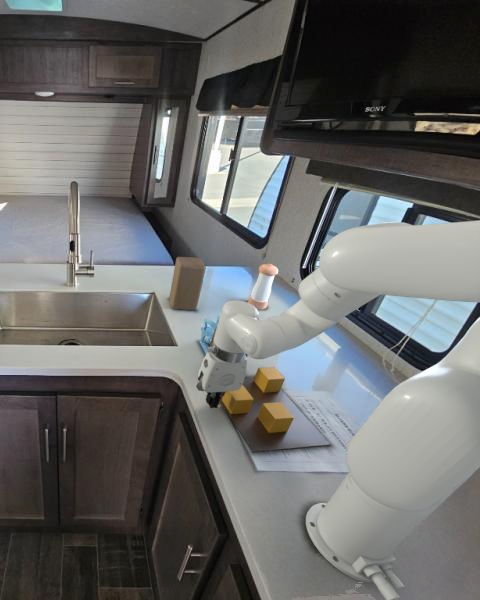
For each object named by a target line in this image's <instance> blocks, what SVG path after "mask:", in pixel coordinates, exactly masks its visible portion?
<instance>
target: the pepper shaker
mask: <svg viewBox="0 0 480 600" xmlns="http://www.w3.org/2000/svg"><path fill="white" fill-rule="evenodd" d="M278 274H279V268H278V267H277V266H275V265H273V264H272V263H263V264H261V265H259V267H258V277H257V280H256V282H255V284H254V286H253V288H252V291H251V294H250V295H249V296H248V301H247V303H250V304H251V305H253V306H254V307H255V308H256V309H257V310H260V311H261V310H266V309H267V306H268V303H269V297H270V295H271V292H272V285H273V281H274V278H275V276H277V275H278Z"/></svg>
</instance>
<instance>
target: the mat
mask: <svg viewBox="0 0 480 600" xmlns="http://www.w3.org/2000/svg"><path fill="white" fill-rule="evenodd" d="M254 378H255V376H245V378H244V381H243V384H242V386H244V387H245V389H246V390H247V391H248V393H249V394H250V395H251V396H252V398H253V399H254V400H253V403H252V405H251V408H250V410H249V413H239V414H231V413H230V412H229V410H228V409H227V407H226V406H225V404H224V403H223V401H222V398H223V397H221V399H220V402H219V403H220V404H221V406H222V407H223V409H224V410H225V412H226V413H227V415H228V416H229V418H230V419H231V421H232V422H233V424H234V426H235V428H237V430H238V432H239V433H240V435H241V437H242V438H243V439H244V441H245V443H246V444H247V446H248V447H249V449H250V450H251V452H252V453H259V452H260V453H261V452H263V453H264V452H272V451H284V450H293V449H295V450H296V449H304V448H315V447H327V446H331V445H332V444H331V443H330V442H329V441H328V440H327V439H326V437H325V436H324V435H323V434H322V433H321V432H320V430H318V429H317V428H316V426H315V425H314V424H313V423H312V422H311V421H310V420H309V419H308V418H307V416H306V415H305V414H304V413H303V412H302V411H301V409H300V408H299V407H297V405H296V404H295V403H294V402H293V401H292V400H291V398H289V396H288V395H287V394H286V393H285V392H284V391H283V390H282V388H281V389H280V391H279V392H266V393H263V391H262V390H261V389H260V388H259V386H258V385H257V384H256V383H255V382H254ZM276 402H281V403H282V404H283V405H284V406H285V407H286V409H287V410H288V411H289V412H290V413H291V414H292V416H293V417H294V419H293V421H292V423H291V425H290V427H289V429H288V431H285V432H274V433H269V432H268V431H267V429H266V428H265V427H264V425H263V424H262V423H261V421H260V420H259V419H258V414H259V412H260V409H261V407H262V405H263V403H276Z"/></svg>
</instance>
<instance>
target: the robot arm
mask: <svg viewBox="0 0 480 600" xmlns="http://www.w3.org/2000/svg"><path fill="white" fill-rule="evenodd" d="M318 266H319V267H317V268H316V269H315V270H313V271H312V272H311V273H310V274H308V275H307V276H306V277H305V278H303V279H302V281H300V282H299V285H298V295H299V298H300V299H299V300H297V302H295V303H294V304H293V305H292V306H290V307H288V308H287V309H286V310H285V311H283V312H281V313H280V314H276V315H273V316H270V317H266V318H262V319H259V314H260V313H259V309H256V308H255V307H254V306H253V305H251V304H250V303H248V301H243V300H236V299H235V300H233V299H232V300H229V301H226V303H224V304H223V306H222V307H221V311H220V314H219V321H218V325H217V329H216V332H215V336H214V340H213V342H212V346H210V345H209V346H206V347H207V351H208V352H207V354H206V353H205V356H204V358H203V360H202V362H201V365H200V367H199V370H198V372H197V373H198V374H197V381H198V382H197V384H196V385H195V386H196V389H197V391H199V392H205V393H206V396H205V402H206V404H207V405H208V406H209V408H210V409H218V407H219V404H220V403H221V402H220V399H221V397H223V396H224V395H225V393H226V392H227V391H236V390H239V389H240V388H241V387H242V384H243V381H244V378H245V377H246V373H247V369H248V368H247V367H248V366H247V365H248V356H249V357H250V358H251V359H254V360H265V359H269V358H271V357H273V356H277V355H279V354H280V353H284V352H287V351H290V350H293V349H295V348H298V347H300V346H303V345H304V344H306V343H308V342H310V341H311V340H313V339H315V338H316V337H317V336H320V335H321V334H323V333H325V332H326V331H327V330H329V329H331V328H332V327H333V326H334V325H336V324H337V323H339V322H340V321H342V319H343V318H345V317H347V316H348V315H350V314H351V313H353V312H355V311H356V310H358V309H360V308H361V307H363V306H364V305H366V304H368V303H369V302H371V301H372V300H374V299H376V298H377V297H379V296H380V295H381V296H390V297H391V296H392V297H400V298H401V297H403V298H414V299H425V300H434V301H435V300H436V301H447V302H448V301H449V302H458V303H459V302H460V303H480V220H470V221H469V220H467V221H457V222H455V221H454V222H444V223H432V224H431V223H430V224H415V225H413V224H410V223H407V222H402V221H384V222H378V223H377V222H376V223H373V224H366V225H361V226H355V227H351V228H349V229H345V230H343V231H341V232H339V233H337V234H336V235H334V236H333V237H332V238H331V239H329V240H328V241H327V242H326V244H325V245H324V247H323V248H322V250H321V252H320V254H319V258H318ZM245 354H247V355H248V356H247V357H246V355H245ZM345 463H346V464H345V465H346V468H347V470H348V473H347V474H346V476H345V477H344V479H343V480H342V481H341V483H340V484H339V486H338V487H337V488H336V490H335V492H333V494H332V495H331V497H330V499H329V500H328V501H327V502H320V503H319V502H318V503H315V504H313V505H312V506H311V507H310V508H309V509H308V510H307V513H306V516H305V526H306V530H307V531H306V532H307V534H308V536H309V538H310V540H311V541H312V543H313V545H314V547H316V549H317V550H318V552H319V553H320V554H321V555H322V556H323V558H324V559H326V560H327V562H329V564H331V565H332V566H333V567H335V569H337V570H338V571H340V572H341V573H343V574H344V575H346V576H348V577H350V578H352V579H354V580H356V581H359V582H361V583H366V584H375V586H376V587H377V590H378V591H379V592H380V593H381V595H382V597H383V598H384V599H385V600H401V597H400V595H399V594H398V593H397V592H396V591H402V590H404V589H405V588H406V586H405V585H404V584H403V583H402V580H400V578H399V577H398V576H397V575H396V574H395V573H394V572H393V565H392V564H394V562H396V561H397V559H396V558H395V556H394V555H393V554H392V552H393V551H394V550H395V549H396V548H397V547H398V546H399V545H401V543H403V541H404V540H405V539H406V538H407V537H408V536H409V535H410V534H411V533H413V531H414V530H415V529H416V528H418V527H419V526H420V524H422V523H423V522H424V521H425V520H426V519H427V518H429V516H431V515H432V513H433V512H435V511H436V510H437V509H438V508H439V507H440V506H441V505H442V504H443V503H444V502H445V500H447V499H448V498H449V497H450V496H452V495H453V494H454V492H455V491H456V490H458V489H459V488H460V487H461V486H462V485H463V484H465V483H466V482H467V481H468V480H469V479H470V478H471V477H472V476H473V475H474V473H476V472H477V470H479V468H480V316H479V317H478V318H477V319H476V320H475V321H474V322H473V323H472V325H471V326H470V327H469V329H468V330H467V331H466V333H465V334H464V335H463V337H462V338H461V339H460V340H459V341H458V342H457V343H456V344H455V346H454V347H453V348H452V349H451V350H450V351H449V352H448V353H447V354H446V356H444V357H443V358H442V359H441V360H440V361H438V362H437V363H436V364H434V365H432V366H430V367H429V368H426V369H425V370H422V371H420V372H419V373H417V374H414V375H413V376H411V377H409V378H407V379H405V380H403V381H402V382H400V383H399V384H397V385H396V386H395V387H394V388H393V389H392V390H390V391H389V392H388V393H387V394H386V395H385V397H383V399H382V400H380V402H379V404H378V405H377V406H376V407H375V409H374V410H373V411H372V413H370V415H369V416H368V417H367V418H366V420H365V421H364V422H363V424H362V425H361V427H360V428H358V430H357V432H356V433H355V434H354V435H353V437H352V438H351V439H350V441H349V443H348V445H347V447H346V451H345ZM387 579H388V580H387ZM388 581H389V582H390V583H391V584H390V583H389V582H388Z"/></svg>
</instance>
